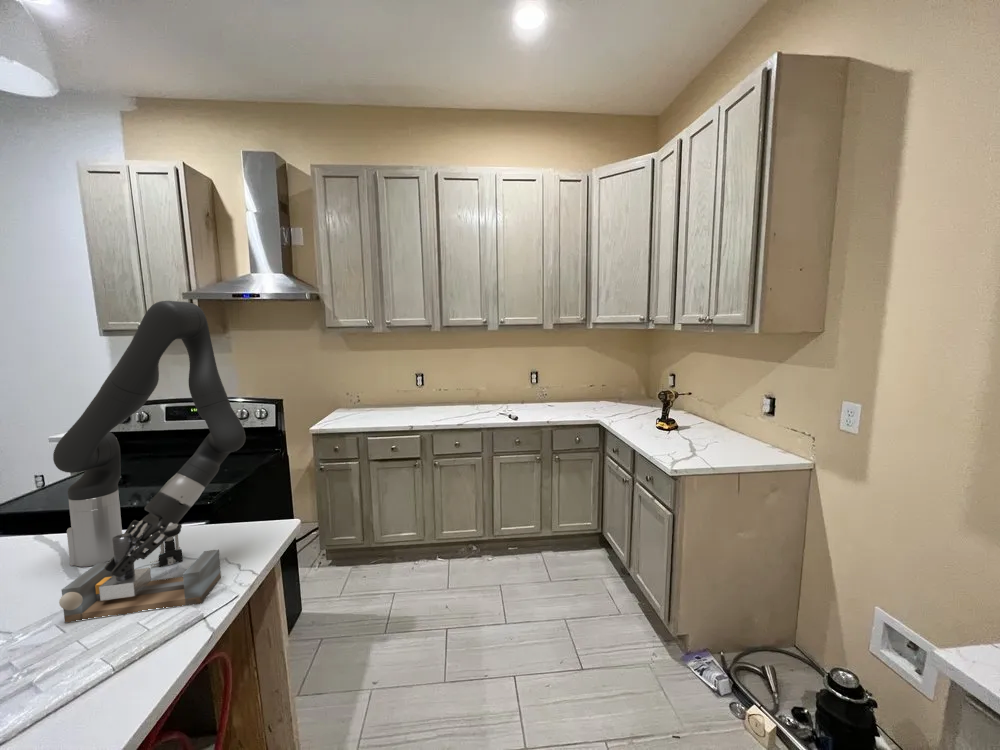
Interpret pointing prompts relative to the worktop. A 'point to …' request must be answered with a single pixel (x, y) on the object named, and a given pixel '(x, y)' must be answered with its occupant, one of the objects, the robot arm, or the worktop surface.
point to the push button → (170, 547)
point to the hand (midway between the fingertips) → (112, 572)
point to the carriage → (130, 580)
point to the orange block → (100, 584)
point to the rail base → (156, 594)
